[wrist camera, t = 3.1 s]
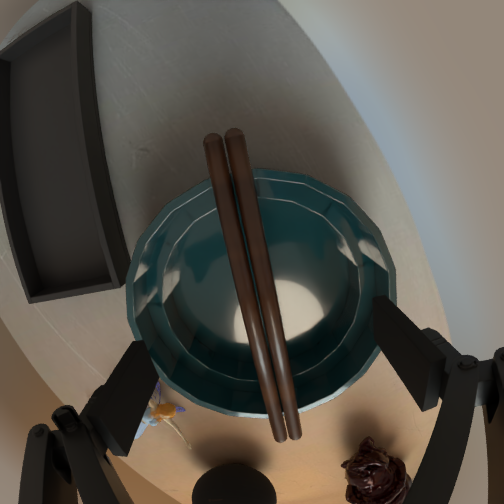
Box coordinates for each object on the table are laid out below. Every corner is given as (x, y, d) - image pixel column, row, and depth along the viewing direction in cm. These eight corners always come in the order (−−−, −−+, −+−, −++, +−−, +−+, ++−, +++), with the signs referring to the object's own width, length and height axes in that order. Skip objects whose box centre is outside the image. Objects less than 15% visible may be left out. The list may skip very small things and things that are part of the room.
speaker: (218, 439, 29) (209, 509, 20) (290, 462, 31) (296, 526, 21) (185, 472, 32) (174, 530, 22) (249, 492, 33) (248, 547, 23)
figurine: (371, 467, 36) (334, 409, 33) (427, 477, 28) (408, 419, 25) (340, 515, 30) (289, 471, 27) (396, 532, 22) (365, 497, 19)
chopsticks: (203, 136, 16) (199, 133, 15) (242, 127, 16) (241, 124, 15) (274, 436, 22) (275, 446, 21) (302, 432, 22) (303, 441, 20)
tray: (91, 12, 18) (77, 0, 15) (134, 275, 25) (120, 287, 22) (10, 62, 19) (-7, 56, 16) (45, 292, 25) (28, 304, 22)
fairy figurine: (60, 402, 25) (124, 382, 22) (80, 377, 29) (145, 351, 26) (128, 466, 27) (204, 459, 24) (141, 440, 32) (213, 426, 29)
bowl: (351, 154, 22) (381, 148, 16) (371, 351, 26) (393, 389, 21) (129, 201, 23) (93, 209, 17) (187, 384, 27) (175, 426, 22)
